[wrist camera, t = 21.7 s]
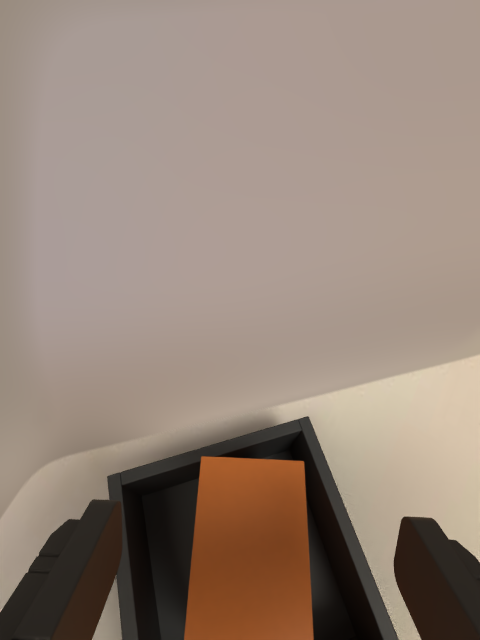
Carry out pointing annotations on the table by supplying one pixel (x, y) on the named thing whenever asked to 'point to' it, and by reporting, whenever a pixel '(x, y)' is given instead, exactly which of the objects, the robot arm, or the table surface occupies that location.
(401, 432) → the table surface
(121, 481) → the bin
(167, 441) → the table surface
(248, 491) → the block
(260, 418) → the table surface
